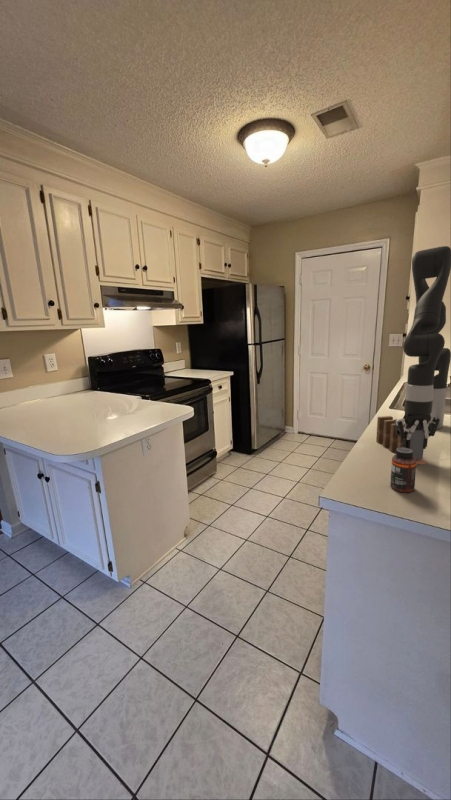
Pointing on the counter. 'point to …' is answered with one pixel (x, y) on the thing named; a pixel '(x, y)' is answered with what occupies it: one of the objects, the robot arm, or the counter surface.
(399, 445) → the domino
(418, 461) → the end pad
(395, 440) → the domino
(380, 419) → the domino
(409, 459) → the supplement bottle
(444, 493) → the counter surface
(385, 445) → the domino
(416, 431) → the domino
